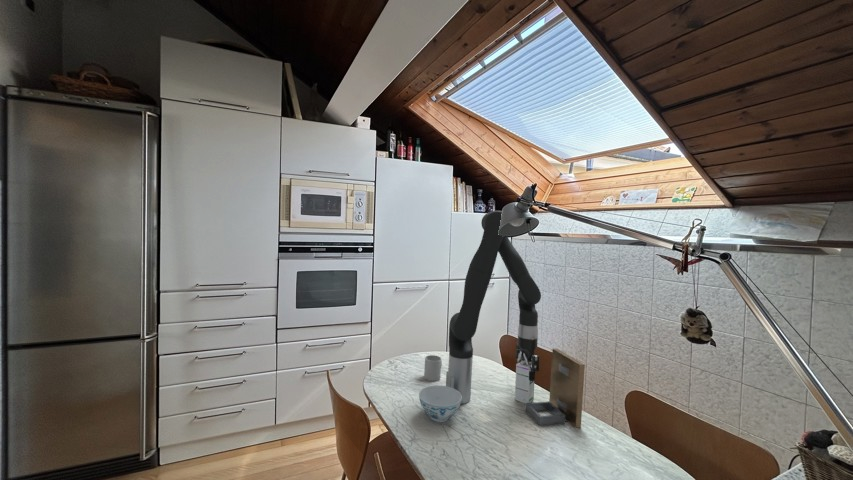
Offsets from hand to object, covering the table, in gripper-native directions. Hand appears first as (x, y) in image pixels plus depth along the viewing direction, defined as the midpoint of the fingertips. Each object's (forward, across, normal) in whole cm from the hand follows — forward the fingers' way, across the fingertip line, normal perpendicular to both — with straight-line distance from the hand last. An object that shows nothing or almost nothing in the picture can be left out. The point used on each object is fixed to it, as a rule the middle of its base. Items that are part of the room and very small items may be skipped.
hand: (526, 375), depth 135 cm
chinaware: (+9, +8, -38) cm, 39 cm away
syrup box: (+10, 0, 0) cm, 10 cm away
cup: (+9, -24, -32) cm, 41 cm away
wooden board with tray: (+10, +13, +3) cm, 16 cm away
